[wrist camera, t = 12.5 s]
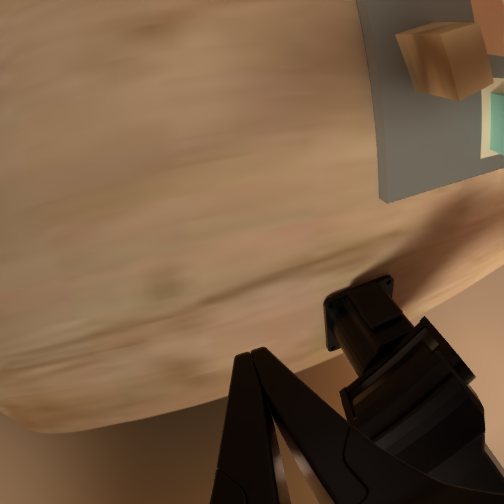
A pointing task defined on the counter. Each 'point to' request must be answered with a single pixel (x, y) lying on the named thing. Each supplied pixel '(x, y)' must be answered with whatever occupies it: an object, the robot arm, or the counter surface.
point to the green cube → (497, 123)
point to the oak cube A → (446, 59)
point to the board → (428, 99)
